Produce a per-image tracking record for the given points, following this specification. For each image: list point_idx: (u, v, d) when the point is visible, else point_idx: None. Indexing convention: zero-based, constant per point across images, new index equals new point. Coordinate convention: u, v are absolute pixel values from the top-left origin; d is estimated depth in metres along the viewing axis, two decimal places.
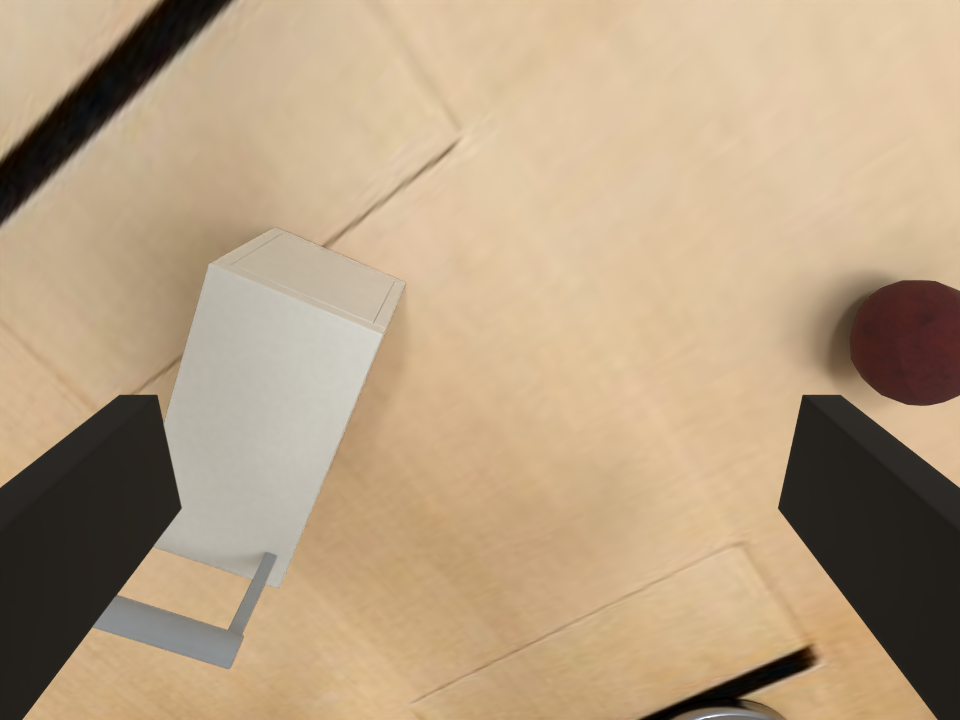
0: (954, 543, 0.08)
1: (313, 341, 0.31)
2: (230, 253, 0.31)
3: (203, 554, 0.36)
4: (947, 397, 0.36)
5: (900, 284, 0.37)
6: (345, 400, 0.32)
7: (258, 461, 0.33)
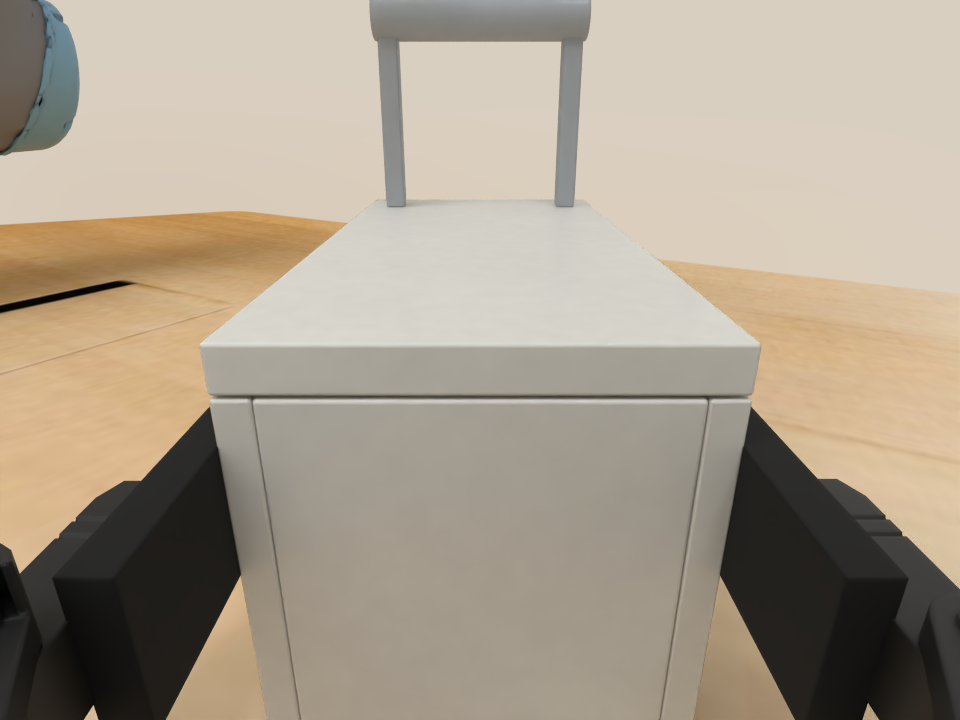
0: (765, 488, 0.10)
1: (404, 309, 0.11)
2: (731, 476, 0.10)
3: (488, 201, 0.25)
4: None
5: None
6: (301, 276, 0.13)
7: (452, 233, 0.19)
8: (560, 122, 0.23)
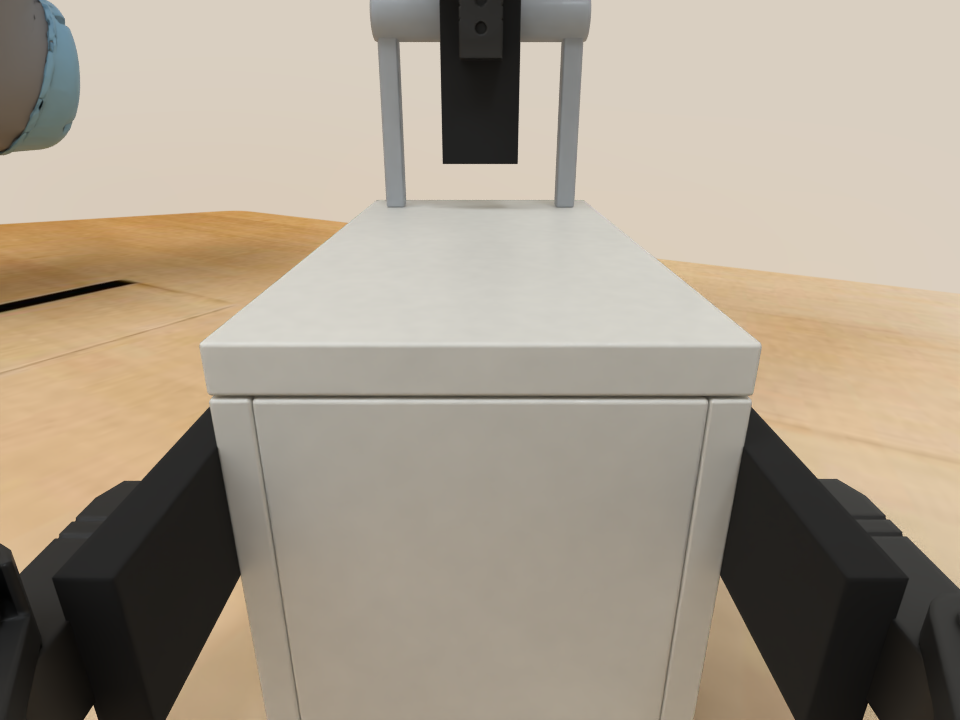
0: (765, 488, 0.10)
1: (405, 309, 0.11)
2: (732, 476, 0.10)
3: (488, 201, 0.25)
4: None
5: None
6: (301, 276, 0.13)
7: (453, 233, 0.19)
8: (560, 122, 0.23)
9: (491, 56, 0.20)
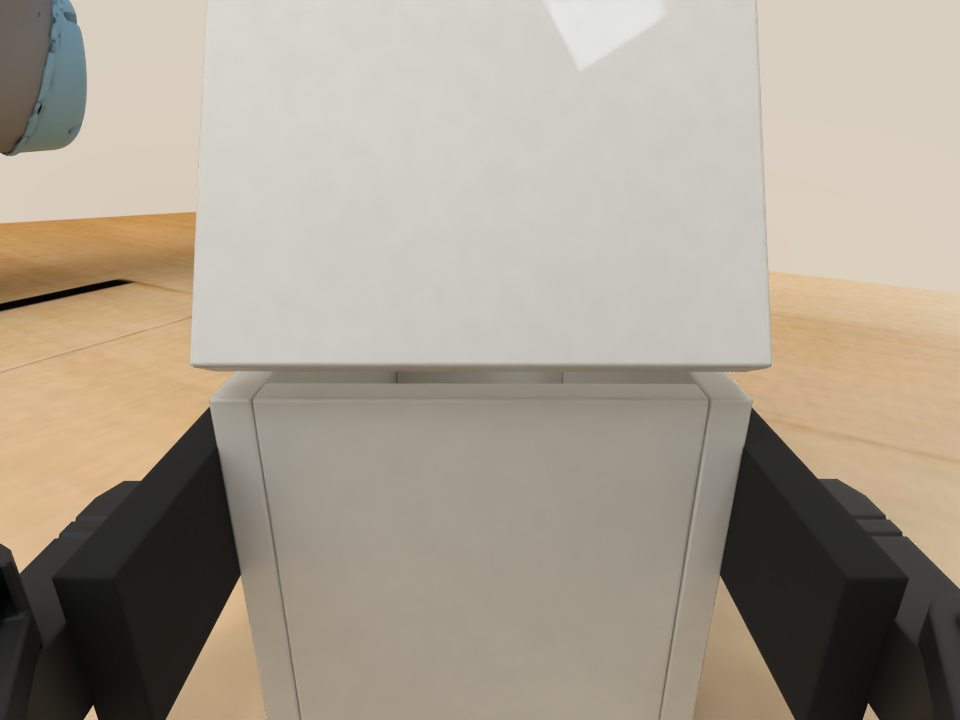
0: (765, 488, 0.10)
1: (391, 253, 0.09)
2: (732, 475, 0.10)
3: None
4: None
5: None
6: (231, 100, 0.10)
7: None
8: None
9: None
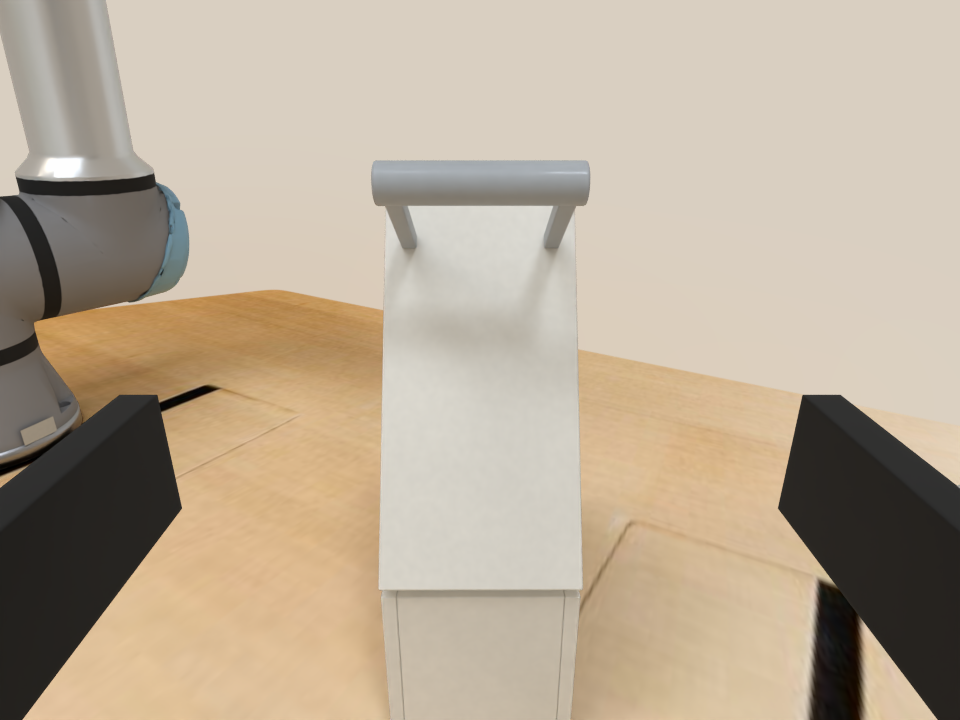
0: (954, 543, 0.08)
1: (449, 549, 0.27)
2: (575, 622, 0.28)
3: (487, 213, 0.29)
4: None
5: None
6: (391, 492, 0.27)
7: (462, 369, 0.28)
8: (552, 224, 0.25)
9: None
